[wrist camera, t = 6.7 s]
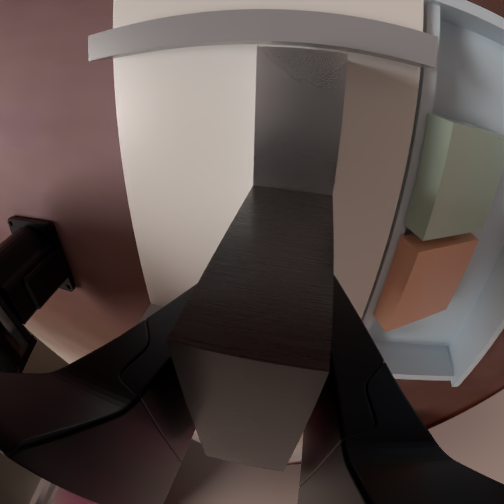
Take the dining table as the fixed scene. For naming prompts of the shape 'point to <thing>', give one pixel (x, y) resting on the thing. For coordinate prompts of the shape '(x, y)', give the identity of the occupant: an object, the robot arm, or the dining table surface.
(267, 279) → the grey panel
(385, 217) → the white shallow box
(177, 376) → the robot arm
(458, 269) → the terracotta tile
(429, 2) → the tray
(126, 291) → the dining table surface
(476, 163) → the sage tile
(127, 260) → the dining table surface
